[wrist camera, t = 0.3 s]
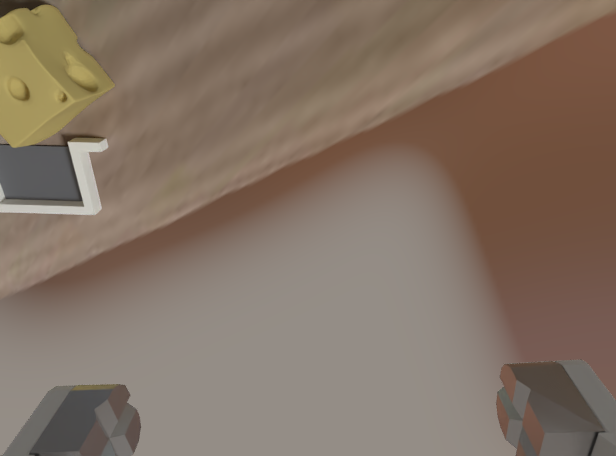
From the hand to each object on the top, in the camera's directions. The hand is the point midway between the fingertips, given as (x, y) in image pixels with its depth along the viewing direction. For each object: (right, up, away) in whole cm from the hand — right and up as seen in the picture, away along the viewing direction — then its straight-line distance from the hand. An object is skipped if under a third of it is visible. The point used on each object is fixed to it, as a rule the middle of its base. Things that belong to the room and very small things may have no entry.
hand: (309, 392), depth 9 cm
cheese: (-30, +23, +41) cm, 56 cm away
